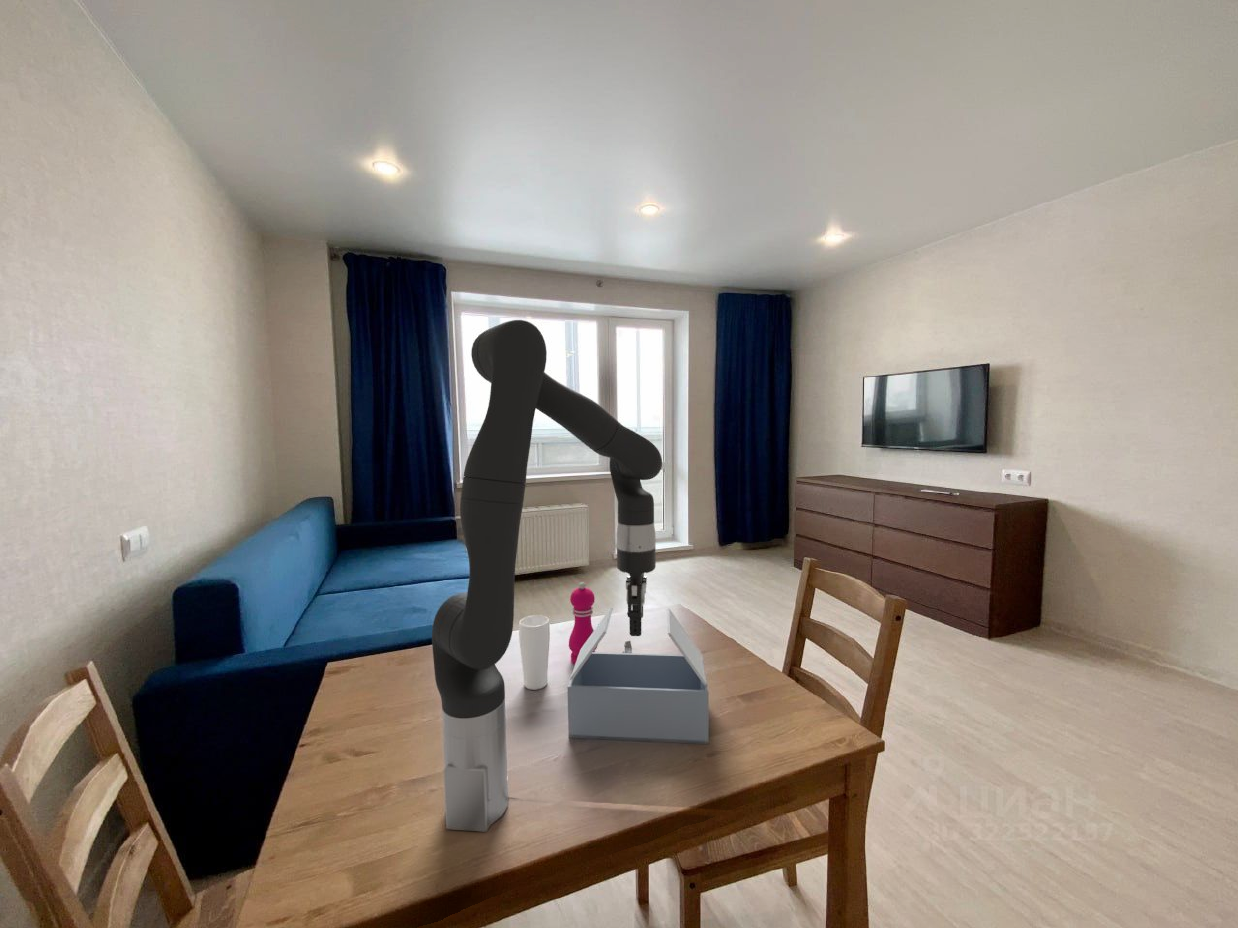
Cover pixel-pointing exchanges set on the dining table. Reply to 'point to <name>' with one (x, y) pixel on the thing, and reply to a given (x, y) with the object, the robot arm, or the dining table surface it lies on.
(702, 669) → the flap right
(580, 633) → the pepper mill
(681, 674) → the carton
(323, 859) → the dining table surface
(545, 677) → the drinking glass
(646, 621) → the dining table surface
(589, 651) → the flap left
